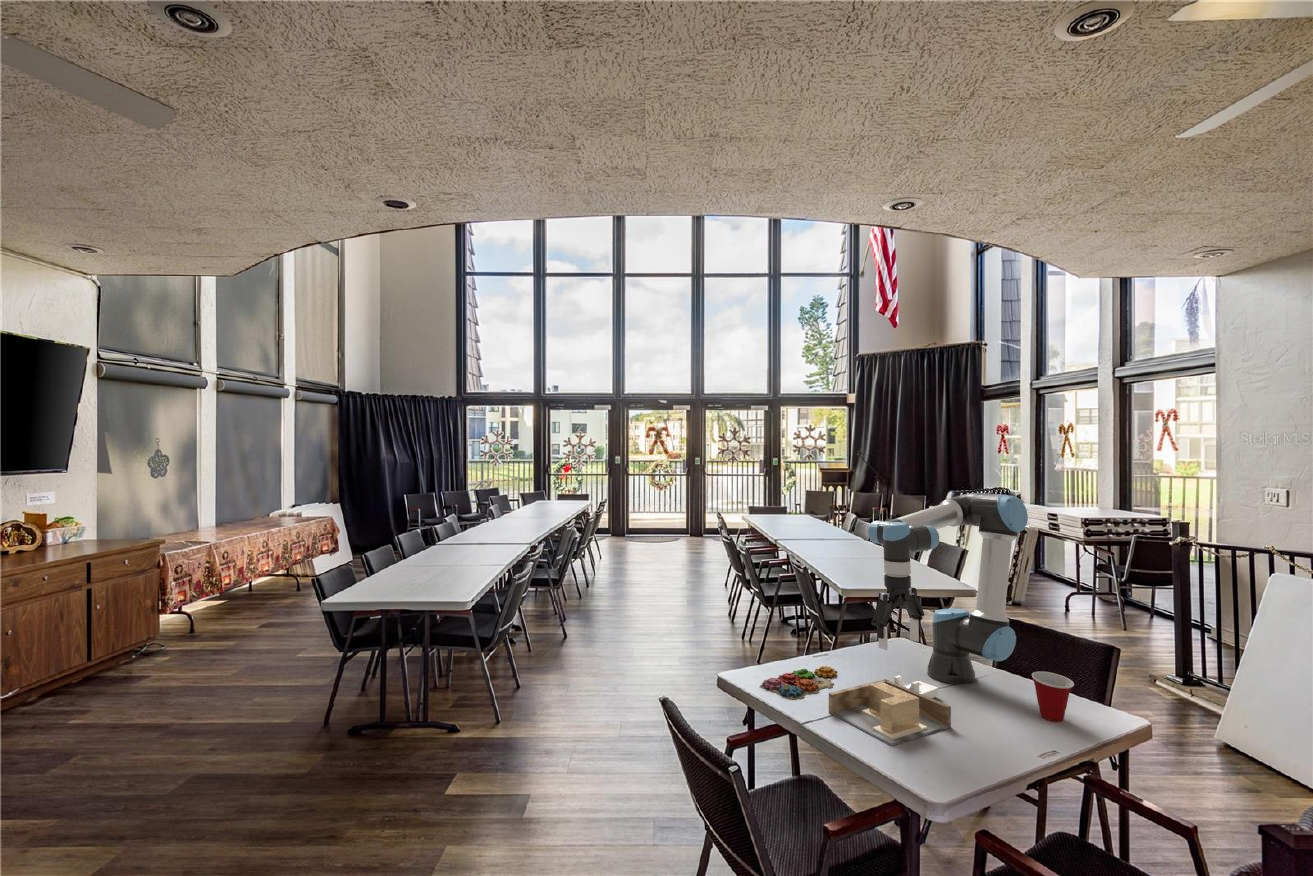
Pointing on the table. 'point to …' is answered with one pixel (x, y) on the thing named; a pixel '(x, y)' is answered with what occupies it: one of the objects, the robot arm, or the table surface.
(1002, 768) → the table surface
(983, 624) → the robot arm
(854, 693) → the arena
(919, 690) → the bracket
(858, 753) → the table surface
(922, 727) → the pad
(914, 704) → the wooden l-shaped block
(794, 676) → the gear puzzle
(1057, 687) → the plastic cup
